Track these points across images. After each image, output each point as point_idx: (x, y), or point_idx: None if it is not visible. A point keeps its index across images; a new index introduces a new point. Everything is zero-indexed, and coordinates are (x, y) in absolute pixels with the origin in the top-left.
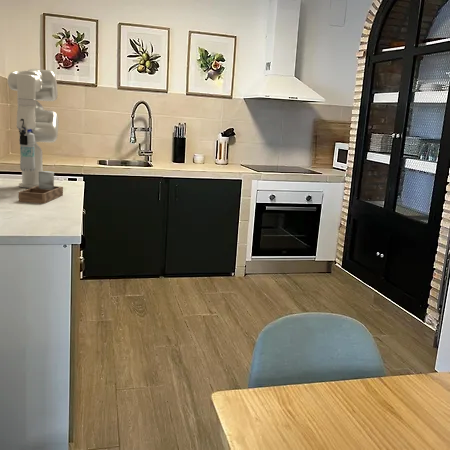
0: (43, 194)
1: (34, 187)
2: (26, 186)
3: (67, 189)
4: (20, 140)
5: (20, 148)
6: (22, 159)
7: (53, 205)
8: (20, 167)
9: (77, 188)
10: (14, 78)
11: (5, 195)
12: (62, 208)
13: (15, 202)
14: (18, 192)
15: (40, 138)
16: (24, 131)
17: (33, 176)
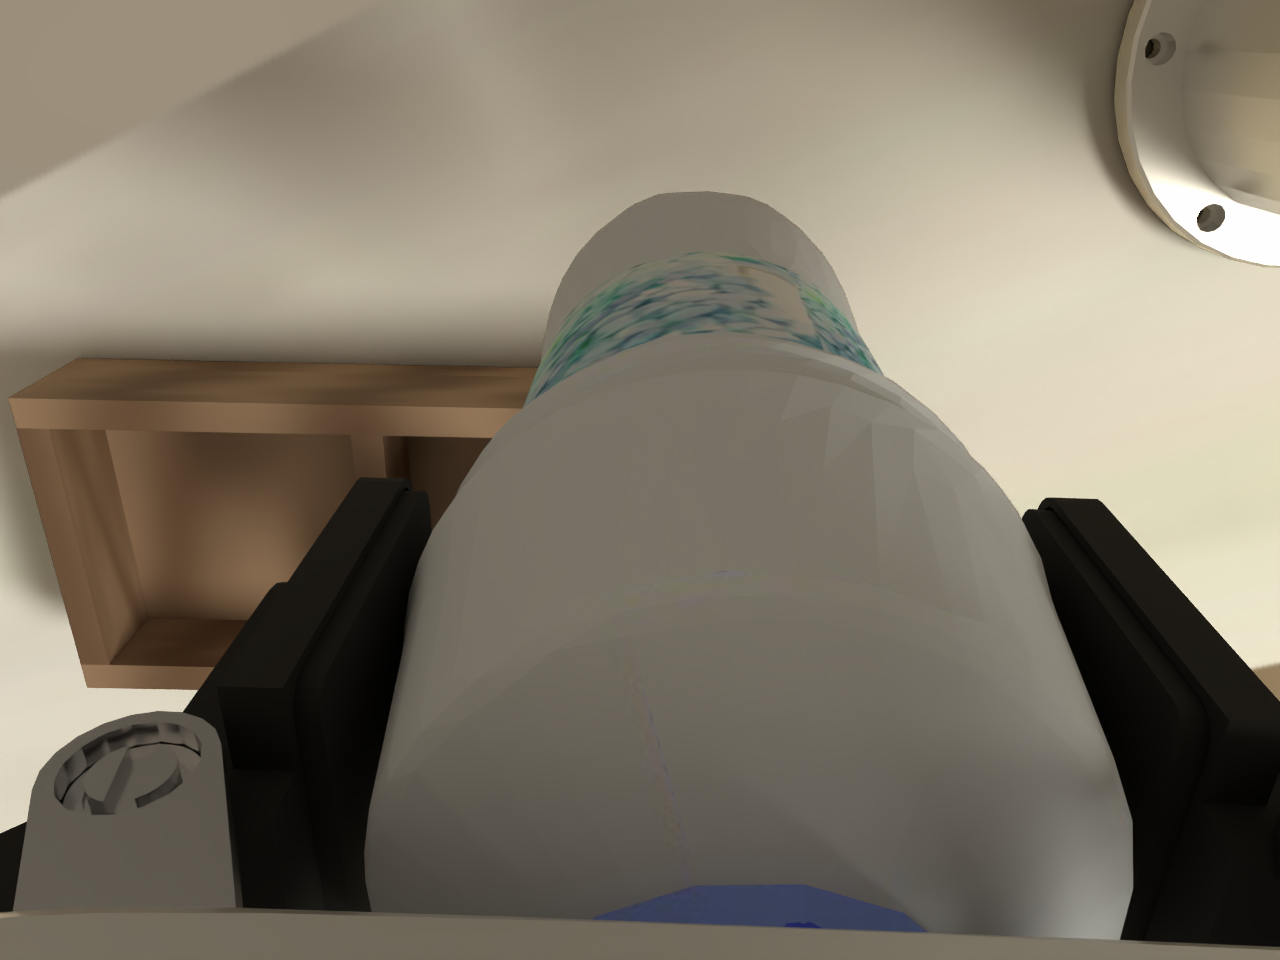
0: (88, 672)
1: (470, 436)
2: (1132, 34)
3: (1159, 561)
4: (314, 570)
5: (588, 348)
6: (551, 333)
7: (102, 716)
8: (620, 214)
9: (1272, 636)
10: None
11: (375, 21)
12: (23, 812)
13: (9, 347)
14: (11, 396)
15: None
16: None
17: (1274, 148)
